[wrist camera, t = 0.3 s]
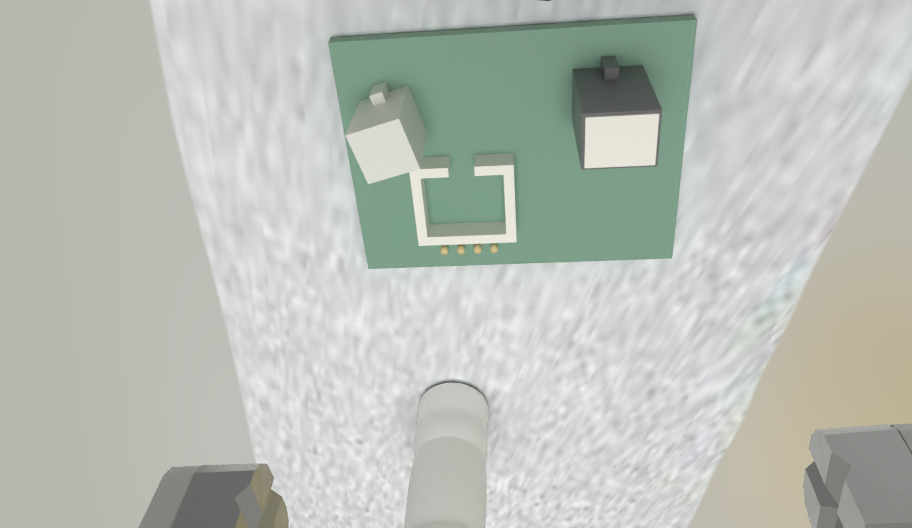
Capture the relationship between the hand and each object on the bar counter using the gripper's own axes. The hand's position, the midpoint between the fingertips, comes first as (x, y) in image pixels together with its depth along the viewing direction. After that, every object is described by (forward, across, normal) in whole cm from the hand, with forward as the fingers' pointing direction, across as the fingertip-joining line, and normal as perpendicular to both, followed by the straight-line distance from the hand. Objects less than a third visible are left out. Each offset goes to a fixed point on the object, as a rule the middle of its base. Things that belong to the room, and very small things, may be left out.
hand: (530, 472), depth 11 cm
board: (+46, +2, +17) cm, 50 cm away
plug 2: (+45, -6, +13) cm, 47 cm away
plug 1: (+45, +10, +13) cm, 48 cm away
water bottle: (+47, +10, +45) cm, 65 cm away
